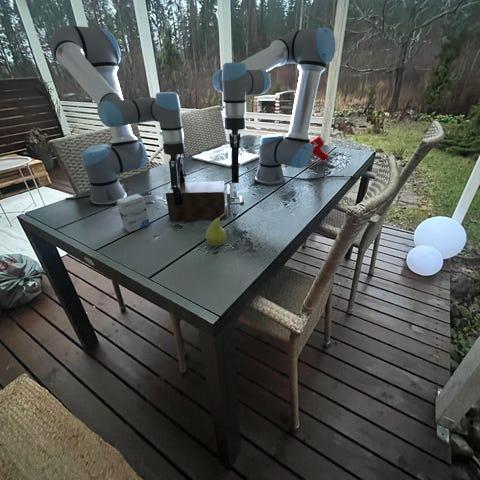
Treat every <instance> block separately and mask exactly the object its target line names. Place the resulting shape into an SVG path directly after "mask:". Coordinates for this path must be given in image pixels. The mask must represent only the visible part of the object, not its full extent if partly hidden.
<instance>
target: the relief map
mask: <svg viewBox="0 0 480 480" xmlns="http://www.w3.org/2000/svg"><path fill="white" fill-rule="evenodd" d="M192 159H194V160H197V161H202V162H206V163H211V164H216V165H218V166H223V167H228V168H231V167H230V165H232V164H231V162H232V161H231V159H232V150H231V148H230V144H226V143H224V144H223V145H221V146H219V147H216V148H214V149H210V150H208V151H202V152H201V153H199V154H196V155H193V156H192ZM257 159H259V154H257V153H256V154H255V153H250V152H248V150H246V148H244V147H241V148H239V162H240V165H239V167H241V166H243V165H245V164H248V163H250V162H252V161H255V160H257Z"/></svg>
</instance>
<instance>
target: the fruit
mask: <svg viewBox="0 0 480 480" xmlns="http://www.w3.org/2000/svg"><path fill="white" fill-rule="evenodd" d="M226 214H227V210H225V213H224V214H223V215H225V216H226ZM223 215H221V216H220V217H219V218H216V219H215V220H212V222H211V224H210V226H209V227H208V228H207V229H206V231H205V234H204V235H205V240H206V242H207V243H208V245H209V246H211V247H216V248H217V247H220V246H222V245H224V243H225V241H226V239H227V232H226V230H225V229H224V228H223V227H222V226H221V222H220V221H221V220H220V218H221V217H222V216H223Z"/></svg>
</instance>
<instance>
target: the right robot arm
mask: <svg viewBox="0 0 480 480" xmlns="http://www.w3.org/2000/svg"><path fill="white" fill-rule="evenodd" d="M334 33H335V32H333V30H332V29H331V28H329V27H320V26H319V27H314V28H306V29H305V28H304V29H296V30H293V31H290V32H288V33H286V34H284V35H282V36H281V37H278V38H276V39H275V40H273V41H272V42H271V43H270V45H269V46H268V47H266V48H264V49H262V50H260V51H258V52H257V53H255V54H253V55H251V56H249V57H247V58H246V59H244V60H242V61H240V62H224V63H223V65H222V69H218V70H216V71H215V72H214V74H213V75H212V85H213V88H214V89H215V90H216V92H218V93H222V100H223V103H222V104H223V105H221V109H222V110H223V115H224V116H223V128H224V129H225V130H227V131H231V133H229V134H228V138H229V139H228V140H229V145H230V148H231V150H232V159H231V161H232V162H231V164H232V165H230V167H229V168H231V184H239V183H240V166H241V165H240V162H239V149H241V148H240V147H241V133H239V131H242V130H244V129H246V117H245V116H246V115H247V103H246V101H247V96H260V95H264V94H267V93H268V91H269V90H270V87H271V84H272V81H271V80H272V78H271V76H270V74H269V73H268V72H269V71H271V70H273V69H274V68H276V67H282V66H284V65H288V64H297V69H298V70H299V76H298V82H297V87H296V88H297V89H296V92H295V96H294V97H295V98H294V103H293V109H292V115H291V118H290V119H291V120H290V125H289V130H288V132H287V133H286V134H285V135H284V134H283V133H273V134H272V133H271V134H266V135H263V136H261V137H260V139H259V153H258V155H259V158H258V167H257V171H256V174H255V177H254V181H255V183H258V184H259V185H262V186H263V185H264V186H279V185H281V184H283V183H284V181H285V178H286V179H287V178H288V179H294V180H300V181H301V180H302V181H312V180H313V181H314V180H319V179H324V178H346V177H347V176H344V175H324V176H318V177H311V178H305V177H304V178H303V177H294V176H289V175H287V176H286V175H284V172H283V171H284V170H283V167H282V165H284V166H288V167H290V168H295V169H302V168H304V167H305V166H307V165H308V163H309V162H310V161H311V158H312V157H311V156H312V153H313V146H312V144H311V143H310V141H311V137H310V136H309V132H310V126H311V122H312V117H313V112H314V107H315V104H316V103H315V102H316V98H317V93H318V88H319V83H320V79H321V74H322V73H323V72H324V71H325V70H326V67H327V64H330V63H332V61H333V59H334V57H335V54H336V37H335V34H334ZM239 165H240V166H239ZM348 177H349V178H351V179H354V176H352V175H351V176H348Z"/></svg>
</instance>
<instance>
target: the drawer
mask: <svg viewBox="0 0 480 480" xmlns="http://www.w3.org/2000/svg"><path fill="white" fill-rule="evenodd" d="M230 185H231V184H230V183H227V184H226V214H227V218H229V217H231V206H232V205H233V206H234V205H240V207H243V206H245V200H244V195H242V194H241V195H239V196H231V186H230ZM231 200H239V201H238V202H231Z"/></svg>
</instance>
